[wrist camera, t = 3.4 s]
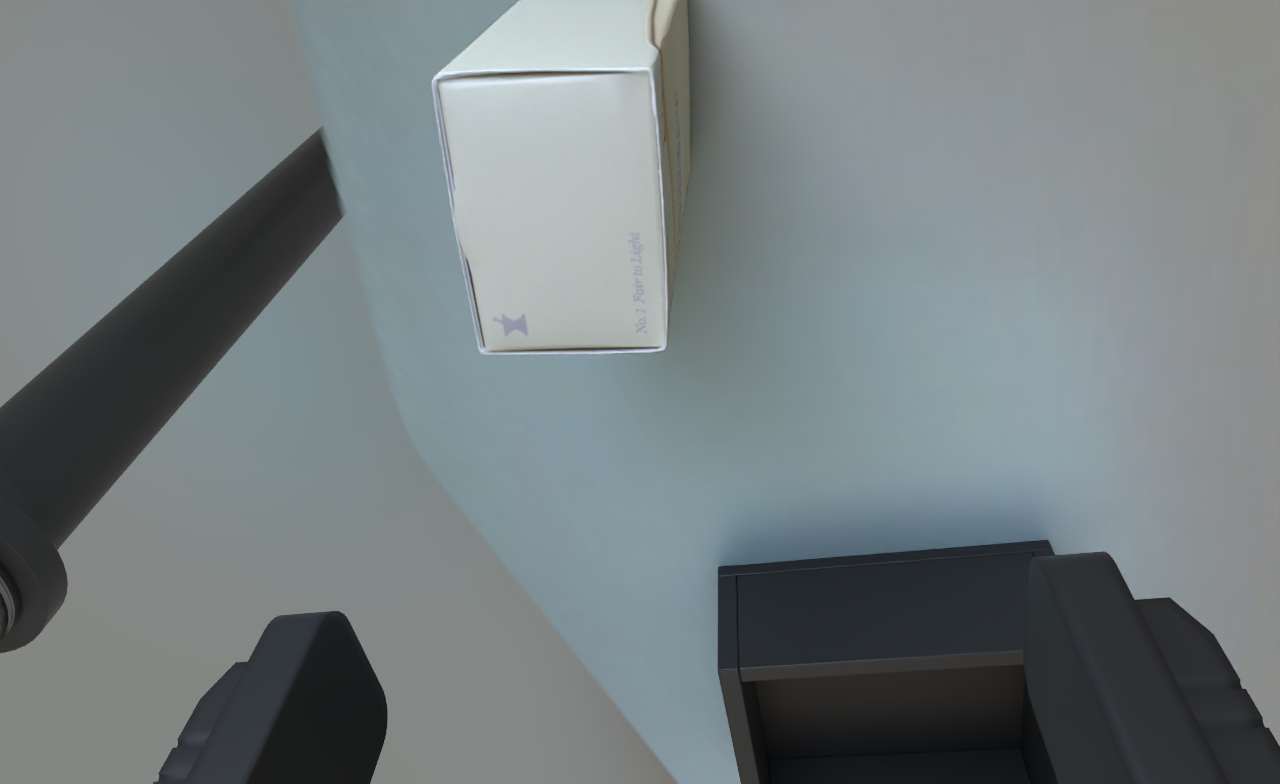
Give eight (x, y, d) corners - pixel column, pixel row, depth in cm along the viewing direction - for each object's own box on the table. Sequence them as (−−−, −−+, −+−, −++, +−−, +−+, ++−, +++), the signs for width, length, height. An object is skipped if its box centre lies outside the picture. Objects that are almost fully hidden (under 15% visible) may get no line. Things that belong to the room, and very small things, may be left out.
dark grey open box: (754, 759, 47) (757, 866, 42) (717, 566, 40) (717, 670, 35) (1033, 745, 45) (1069, 857, 40) (1048, 539, 38) (1095, 646, 33)
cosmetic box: (692, 167, 30) (677, 364, 20) (557, 171, 30) (476, 366, 20) (686, -44, 27) (665, 65, 16) (535, -36, 27) (423, 75, 17)
